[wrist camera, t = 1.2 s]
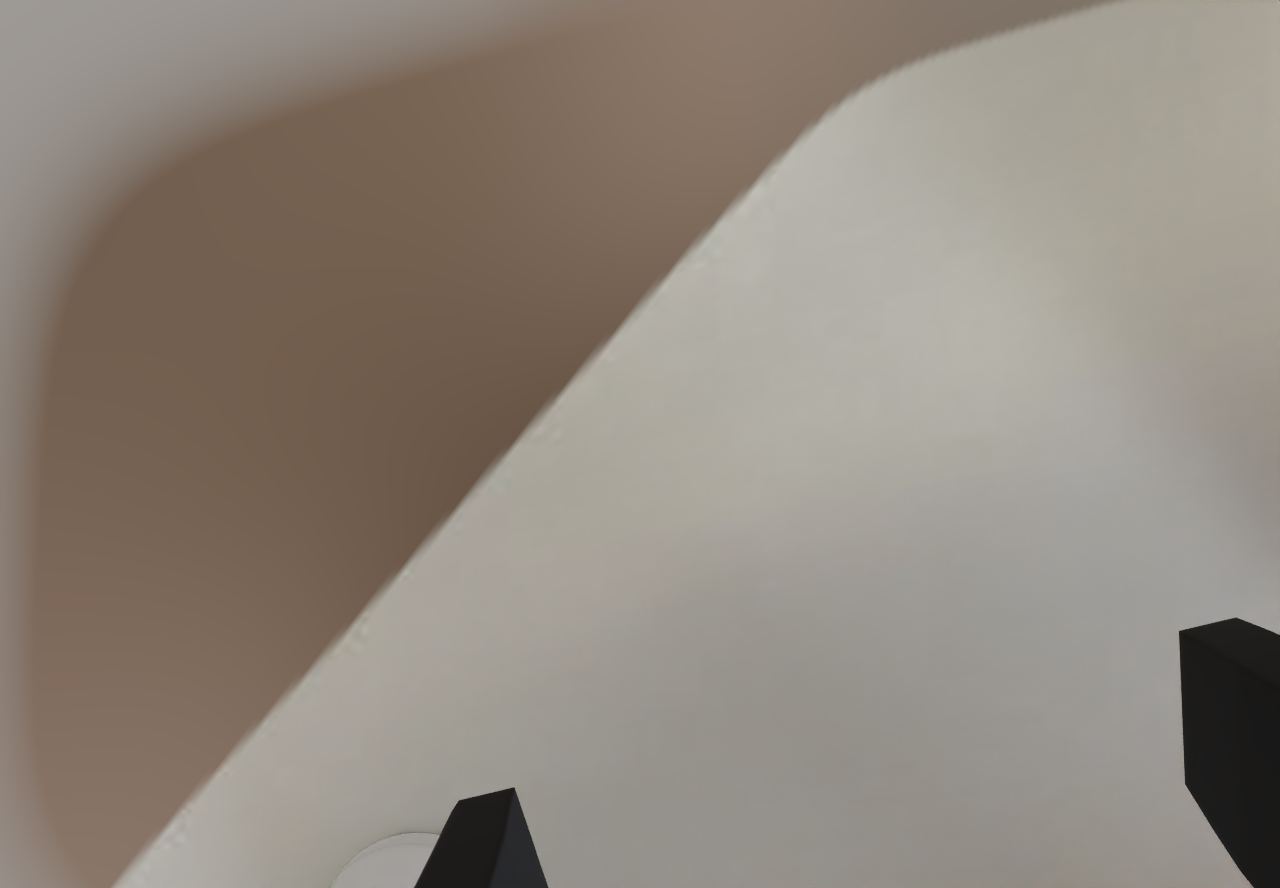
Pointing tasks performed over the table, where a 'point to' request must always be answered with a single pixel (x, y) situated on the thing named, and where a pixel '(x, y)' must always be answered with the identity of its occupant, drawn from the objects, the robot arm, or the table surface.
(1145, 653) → the table surface
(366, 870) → the chess piece
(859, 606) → the table surface
